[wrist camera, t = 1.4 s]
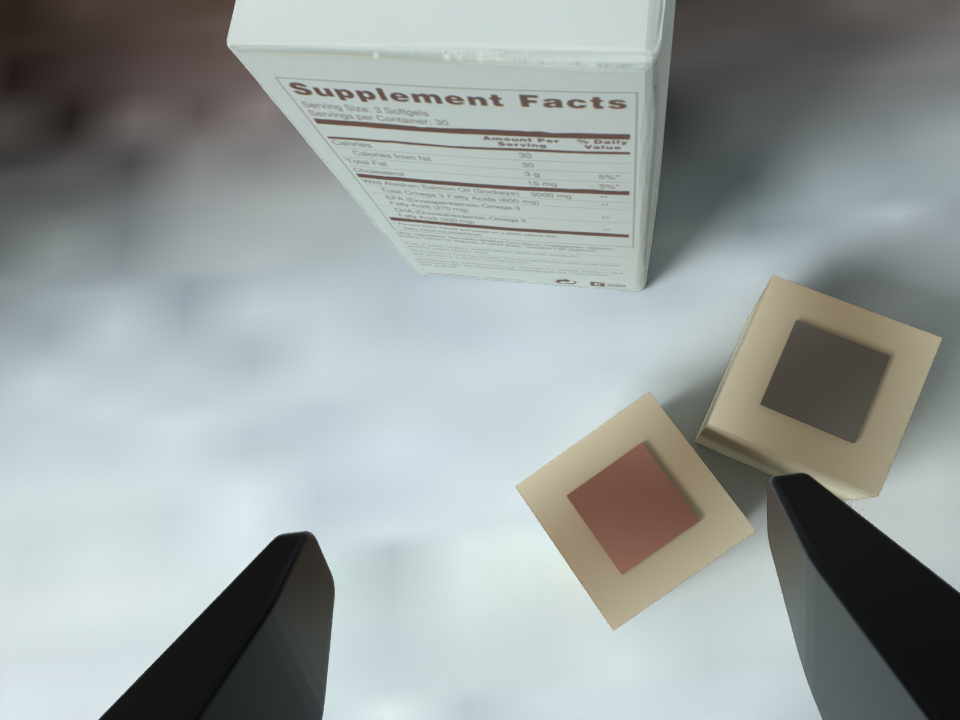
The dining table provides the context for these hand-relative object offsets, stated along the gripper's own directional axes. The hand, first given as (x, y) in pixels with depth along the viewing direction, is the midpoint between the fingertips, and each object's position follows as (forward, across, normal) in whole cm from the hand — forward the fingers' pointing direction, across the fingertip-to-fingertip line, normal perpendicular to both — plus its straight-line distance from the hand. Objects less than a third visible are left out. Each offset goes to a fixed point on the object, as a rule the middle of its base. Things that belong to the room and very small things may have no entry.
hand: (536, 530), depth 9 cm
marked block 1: (+10, -1, +9) cm, 14 cm away
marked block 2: (+12, -6, +8) cm, 15 cm away
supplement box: (+18, 0, +2) cm, 18 cm away
